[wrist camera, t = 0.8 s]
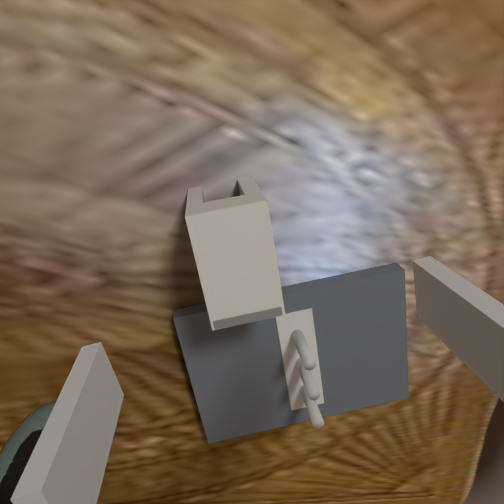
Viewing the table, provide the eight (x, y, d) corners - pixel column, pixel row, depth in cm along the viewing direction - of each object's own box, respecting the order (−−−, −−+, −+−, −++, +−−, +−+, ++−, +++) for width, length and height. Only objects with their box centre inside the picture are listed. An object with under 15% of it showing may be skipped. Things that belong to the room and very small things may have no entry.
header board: (207, 431, 40) (209, 485, 34) (174, 309, 35) (169, 349, 29) (401, 387, 41) (433, 432, 35) (396, 262, 36) (433, 292, 30)
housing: (209, 280, 34) (212, 331, 27) (188, 189, 31) (184, 217, 24) (266, 268, 34) (285, 315, 27) (250, 176, 31) (267, 200, 24)
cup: (97, 377, 36) (62, 472, 27) (123, 441, 39) (100, 547, 30) (10, 397, 36) (-56, 501, 26) (43, 460, 39) (-6, 574, 29)
